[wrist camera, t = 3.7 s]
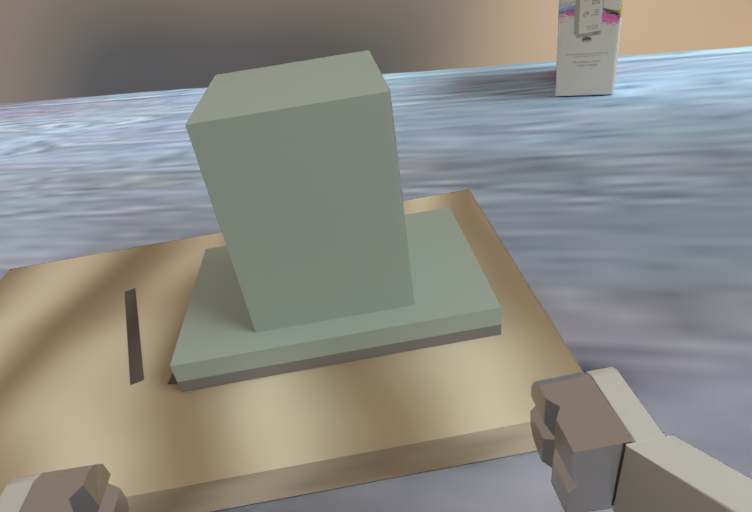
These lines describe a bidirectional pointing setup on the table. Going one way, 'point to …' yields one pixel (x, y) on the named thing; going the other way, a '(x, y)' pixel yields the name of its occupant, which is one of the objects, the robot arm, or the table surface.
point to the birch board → (250, 386)
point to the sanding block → (317, 232)
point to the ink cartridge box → (587, 46)
